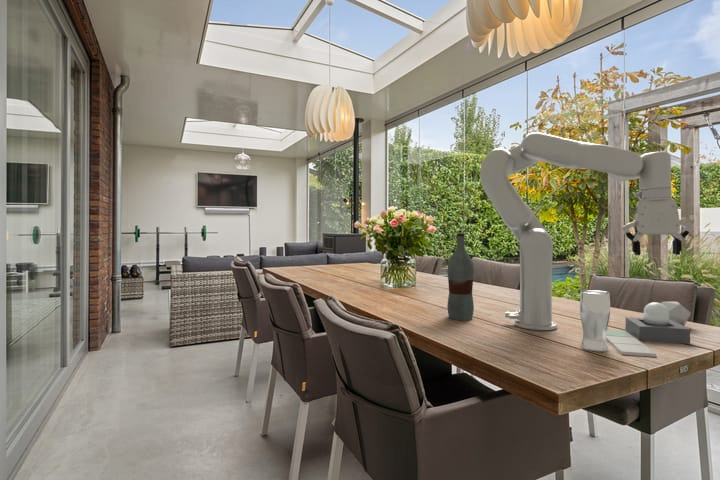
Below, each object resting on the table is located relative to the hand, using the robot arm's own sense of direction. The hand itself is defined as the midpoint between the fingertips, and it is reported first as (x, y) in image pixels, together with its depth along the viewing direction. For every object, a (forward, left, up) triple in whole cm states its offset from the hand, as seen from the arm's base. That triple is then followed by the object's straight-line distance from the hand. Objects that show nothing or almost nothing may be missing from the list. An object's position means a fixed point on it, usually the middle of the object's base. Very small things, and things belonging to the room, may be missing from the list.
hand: (656, 254), depth 119 cm
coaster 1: (-11, -2, -24) cm, 26 cm away
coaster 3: (-11, -18, -24) cm, 32 cm away
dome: (0, 0, -20) cm, 20 cm away
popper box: (0, 0, -24) cm, 24 cm away
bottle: (-56, +10, -24) cm, 62 cm away
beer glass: (-20, -18, -24) cm, 36 cm away
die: (+10, +16, -24) cm, 30 cm away
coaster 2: (-11, -10, -24) cm, 28 cm away
